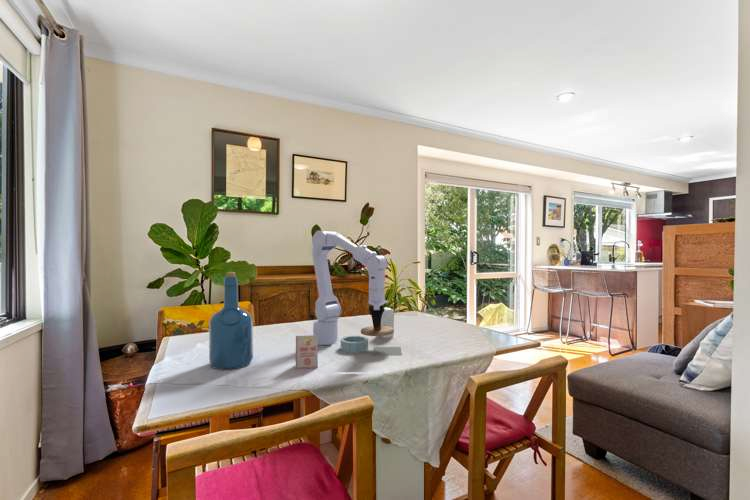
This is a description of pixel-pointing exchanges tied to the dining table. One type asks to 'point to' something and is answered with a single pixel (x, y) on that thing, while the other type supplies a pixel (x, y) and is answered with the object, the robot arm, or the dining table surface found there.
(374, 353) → the mat
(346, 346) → the bowl
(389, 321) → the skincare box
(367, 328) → the lid
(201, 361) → the dining table surface
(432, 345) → the dining table surface
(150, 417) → the dining table surface
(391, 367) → the dining table surface
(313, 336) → the beige printed carton
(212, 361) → the wine bottle
